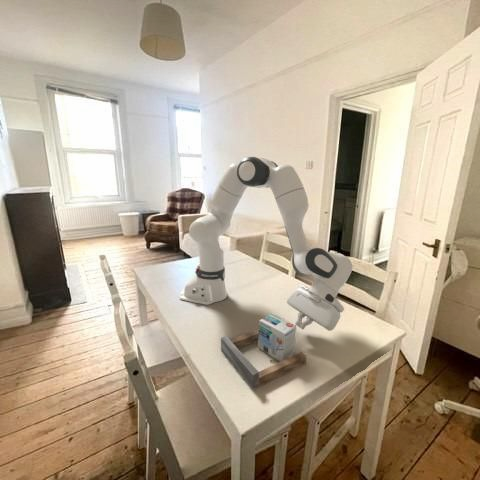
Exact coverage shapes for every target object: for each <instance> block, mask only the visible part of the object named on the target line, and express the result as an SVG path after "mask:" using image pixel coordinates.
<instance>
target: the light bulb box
mask: <svg viewBox="0 0 480 480" xmlns="http://www.w3.org/2000/svg"><path fill="white" fill-rule="evenodd" d="M258 329H259V339H258V341H257V343H258V344H257V348H258V349H260V350H262V351H263V352H265V354H267V355H269V356H271V357H272V358H273V359H275V360H277V361H279V362H281V361H283V360H285V359H288V358H290V357H292V356H294V355H295V349H296V347H295V346H296V335H297V333H296V332H297V325H296V324H294V323H292V322H291V321H288V320H286V319H284V318H282V317H280V316H278V315H276V314H274V313H272V312H271V313H270V314H268V315H266V316H264V317H263V318H261V319H259V320H258Z"/></svg>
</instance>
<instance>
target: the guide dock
mask: <svg viewBox="0 0 480 480" xmlns="http://www.w3.org/2000/svg"><path fill="white" fill-rule="evenodd" d="M258 339H259V328H258V329H255V330H253V331H250V332H248V333H245V334H241V335H239V336H236V337H233V338H231V339H229V337H228V336H227V335H225V336H222V337H220V351H221V353H222V354H223V355H224V356H225V358H226V359H227V360H228V361H229V363H230V364H231V365H232V366H233V368H234V369H235V370H236V371H237V373H238V374H239V375H240V376H241V377H242V379H243V380H244V381H245V382H246V384H247V385H248V386H249V388H250V389H251V390H252V391H253V390H255V389H258V388H259V387H261V386H263V385H265V384H268V383H270V382H271V381H274V380H275V379H278V378H279V377H281V376H284V375H286V374H288V373H289V372H291V371H294V370H296V369H298V368H300V367H302V366H304V365H306V362H307V361H306V360H307V355H306V354H305V353H304V352H302V351H301V352H299V353H296V354H293V355H292V356H291V357H289V358H288V359H285V360H283V361H281V362H280V361H279V362H277V363H275V364H273V365H271V366H268V367H266V368H264V369H262V370H260V371H259V370H258V369H257V368H256V367H255V366H254V365H253V364H252V362H250V361H249V359H248V358H246V356H245V354H243V353H242V351H240V350H239V349H241V348H243V347H246V346H248V345H251V344H253V343H256V342H258Z"/></svg>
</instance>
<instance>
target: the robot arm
mask: <svg viewBox="0 0 480 480" xmlns="http://www.w3.org/2000/svg"><path fill="white" fill-rule="evenodd" d="M248 187H249V188H258V189H261V188H262V189H263V188H270V190H271V191H272V194H273V197H274V199H275V203H276V205H277V208H278V211H279V212H280V215H281V218H282V221H283V224H284V225H283V226H284V227H285V231H286V236H287V238H288V242H289V244H290V249H291V253H292V255H291V256H292V257H291V263H292V264H291V265H292V268H293V269H294V271H295V272H296V273H297V275H300V276H304V277H305V276H306V277H307V276H313V277H315V280H314V281H313V283H312V284H311V286H310V288H309V287H307V286H305V285H299V286H297V288H296V289H294V291H293V292H292V293H291V294H290V296H288V298H286V299H287V300H286V303H287V305H289V306H290V307H291V308H293V309H294V310H295V311H298V312H299V313H298V315H297V320H296V321H295V324H294V325H296V327H298V328H300V329H301V330H304V329H305V328H306V327H307V326H309V325H311V324H312V323H313V322H315V323H317V324H318V325H319V326H321V327H322V328H323V329H325V330H326V331H329V332H331V331H333V330H334V329H335V328H336V327H337V324H338V323H339V321H340V319H341V313H343V312H344V310H345V307H344V306H343V304H342V303H341V302H340V301H339V300H338V298H337V296H338V294H339V291H340V289H341V288H343V287H344V285H345V284H346V282H347V281H348V279H349V277H350V275H351V273H352V270H353V263H352V261H351V259H350V258H348V257H347V256H346V255H344V254H342V253H340V252H337V253H336V252H330V251H327V250H325V249H323V248H320V247H313V248H309V245H308V243H307V239H306V236H305V233H304V228H303V222H304V218H305V215H306V214H307V212H308V209H309V199H308V195H307V192H306V190H305V187H304V184H303V182H302V180H301V178H300V177H299V174H298V172H297V171H296V170H295V168H294V166H292V165H291V164H280V165H279V164H277V163H276V162H274V161H272V160H269V159H266V158H265V157H264V158H263V157H256V156H248V157H245V158H243V159H241V161H240V162H238V163H237V162H233V163H231V164H230V165H229V166H228V167H227V168H226V170H225V172H224V173H223V174H222V176H221V178H220V180H219V181H218V183H217V186H216V187H215V189H214V192H213V194H212V195H211V198H210V204H211V205H210V209H209V211H208V213H207V214H206V215H204V216H201V217H198V218H196V219H195V220H194V221H192V223H191V224H190V226H189V227H188V233H189V237H190V238H191V240H193V242H195V245H196V246H197V249H198V257H199V264H198V265H197V267H196V268H195V271H194V274H195V275H193V276H192V277H190V278H189V279H188V280H187V281H186V283H185V284H184V288H183V289H182V290H181V291H180V294H179V300H180V301H186V302H190V303H196V304H201V305H212V304H213V303H218V302H221V301H224V300H225V299H226V298H227V297H228V291H227V287H226V283H225V282H226V281H225V278H226V269H225V268H226V267H225V265H224V264H225V261H224V260H225V259H224V256H225V255H224V254H225V253H224V250H223V249H222V247H221V245H220V241H219V239H220V237H221V236H223V235H225V233H227V232H228V230H229V229H230V228H231V221H232V218H233V214H234V212H235V209H236V208H237V206H238V204H239V202H240V201H241V198H242V197H243V195H244V192H245V191H246V190H247V188H248ZM303 319H305V320H304V321H303Z"/></svg>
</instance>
